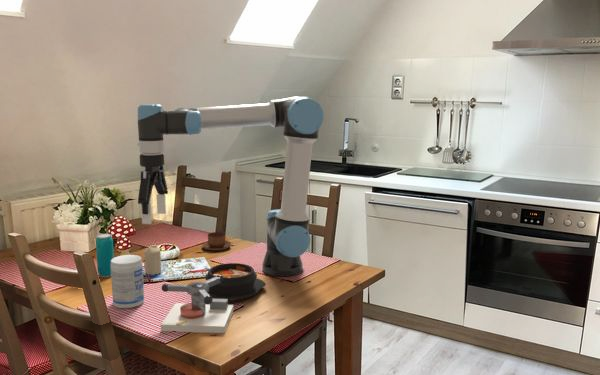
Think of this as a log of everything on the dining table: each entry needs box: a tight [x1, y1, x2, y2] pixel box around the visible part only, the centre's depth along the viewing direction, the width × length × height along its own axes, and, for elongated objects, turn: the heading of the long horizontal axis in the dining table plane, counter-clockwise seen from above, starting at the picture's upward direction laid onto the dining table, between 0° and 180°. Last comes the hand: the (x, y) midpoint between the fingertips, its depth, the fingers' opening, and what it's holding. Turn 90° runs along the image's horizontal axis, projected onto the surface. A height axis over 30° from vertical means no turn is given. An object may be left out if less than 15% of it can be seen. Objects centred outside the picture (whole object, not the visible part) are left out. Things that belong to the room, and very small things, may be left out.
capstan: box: [161, 275, 224, 318], centre depth 157 cm, size 17×19×9 cm
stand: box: [160, 299, 235, 334], centre depth 158 cm, size 18×15×4 cm
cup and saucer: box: [202, 231, 232, 252], centre depth 228 cm, size 12×12×6 cm
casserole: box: [204, 262, 267, 302], centre depth 178 cm, size 25×19×8 cm
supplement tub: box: [110, 254, 145, 309], centre depth 169 cm, size 10×10×15 cm
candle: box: [144, 245, 162, 275], centre depth 197 cm, size 6×6×10 cm
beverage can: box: [95, 233, 115, 279], centre depth 193 cm, size 6×6×15 cm
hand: (154, 218), depth 175 cm, fingers open, 13 cm apart
